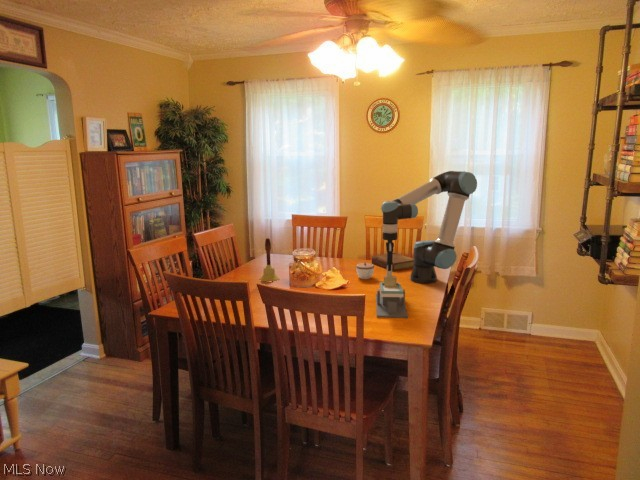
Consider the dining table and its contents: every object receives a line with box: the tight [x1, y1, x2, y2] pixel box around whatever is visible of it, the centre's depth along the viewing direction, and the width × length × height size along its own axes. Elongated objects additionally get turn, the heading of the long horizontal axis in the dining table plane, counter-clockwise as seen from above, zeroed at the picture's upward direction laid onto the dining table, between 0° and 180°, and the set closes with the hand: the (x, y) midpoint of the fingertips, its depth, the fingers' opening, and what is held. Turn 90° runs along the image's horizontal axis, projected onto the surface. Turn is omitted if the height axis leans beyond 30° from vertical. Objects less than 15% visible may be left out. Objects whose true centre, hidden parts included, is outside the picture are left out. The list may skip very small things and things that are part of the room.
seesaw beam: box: [379, 282, 404, 297], centre depth 223 cm, size 10×28×3 cm, turn 174°
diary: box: [371, 252, 414, 272], centre depth 301 cm, size 23×19×6 cm
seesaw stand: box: [375, 288, 409, 319], centre depth 224 cm, size 14×32×8 cm, turn 174°
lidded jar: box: [355, 262, 375, 280], centre depth 273 cm, size 11×11×9 cm
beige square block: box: [383, 275, 398, 287], centre depth 232 cm, size 6×6×5 cm
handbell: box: [258, 237, 280, 282], centre depth 271 cm, size 12×12×25 cm
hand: (389, 276), depth 239 cm, fingers closed
